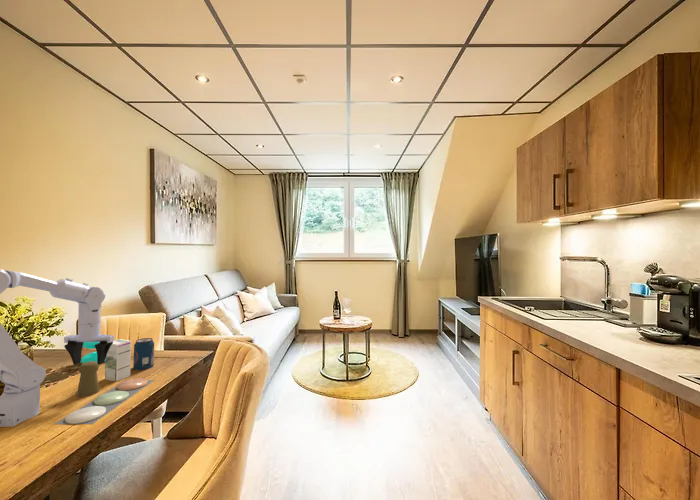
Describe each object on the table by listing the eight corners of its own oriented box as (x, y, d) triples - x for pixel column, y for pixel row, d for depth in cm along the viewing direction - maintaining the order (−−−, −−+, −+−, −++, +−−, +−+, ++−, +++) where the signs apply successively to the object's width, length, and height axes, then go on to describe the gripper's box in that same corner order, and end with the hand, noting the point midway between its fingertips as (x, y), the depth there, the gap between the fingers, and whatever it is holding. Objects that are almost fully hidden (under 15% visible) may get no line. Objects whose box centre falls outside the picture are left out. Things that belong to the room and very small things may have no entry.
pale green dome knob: (116, 405, 97) (116, 403, 97) (86, 405, 97) (86, 403, 97) (135, 392, 106) (135, 390, 106) (107, 392, 106) (107, 390, 106)
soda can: (132, 368, 130) (132, 339, 130) (151, 365, 134) (152, 336, 135) (134, 374, 125) (135, 343, 125) (155, 370, 129) (156, 340, 129)
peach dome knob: (137, 390, 108) (137, 388, 108) (110, 390, 107) (110, 388, 107) (152, 380, 117) (152, 378, 117) (127, 380, 116) (127, 378, 116)
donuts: (116, 336, 141) (92, 342, 131) (116, 359, 140) (91, 367, 131) (100, 334, 143) (75, 340, 134) (99, 356, 143) (74, 364, 134)
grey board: (92, 427, 87) (92, 423, 87) (54, 427, 86) (54, 424, 86) (154, 382, 117) (154, 380, 117) (125, 382, 116) (125, 380, 116)
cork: (86, 400, 102) (87, 366, 102) (71, 398, 103) (72, 364, 103) (104, 392, 108) (105, 360, 108) (89, 391, 109) (90, 358, 109)
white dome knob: (90, 423, 87) (90, 421, 87) (56, 424, 86) (56, 421, 86) (113, 407, 96) (113, 405, 96) (82, 408, 95) (82, 406, 95)
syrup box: (131, 378, 120) (132, 339, 121) (115, 384, 115) (117, 343, 115) (119, 376, 122) (120, 338, 122) (103, 382, 116) (105, 342, 116)
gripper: (120, 320, 110) (119, 359, 110) (76, 320, 109) (75, 359, 109) (105, 325, 103) (105, 367, 103) (58, 325, 102) (58, 367, 102)
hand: (89, 363), depth 106 cm, fingers open, 7 cm apart
